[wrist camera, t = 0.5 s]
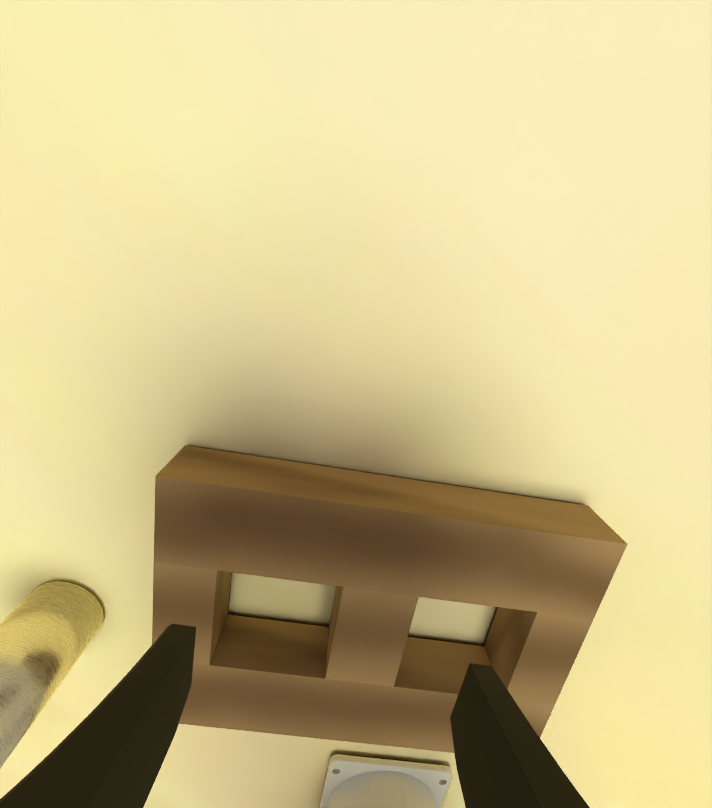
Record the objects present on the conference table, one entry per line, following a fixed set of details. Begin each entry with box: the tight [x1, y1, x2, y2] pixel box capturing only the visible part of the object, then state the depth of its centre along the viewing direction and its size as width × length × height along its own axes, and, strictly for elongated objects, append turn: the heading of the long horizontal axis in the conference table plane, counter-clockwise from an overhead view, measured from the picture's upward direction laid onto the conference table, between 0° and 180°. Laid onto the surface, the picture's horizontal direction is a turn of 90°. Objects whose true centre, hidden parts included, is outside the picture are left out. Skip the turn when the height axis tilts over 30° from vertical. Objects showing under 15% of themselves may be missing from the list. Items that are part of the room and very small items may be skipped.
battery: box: [0, 581, 104, 768], centre depth 18 cm, size 4×4×7 cm
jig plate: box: [152, 445, 627, 753], centre depth 20 cm, size 14×20×3 cm
